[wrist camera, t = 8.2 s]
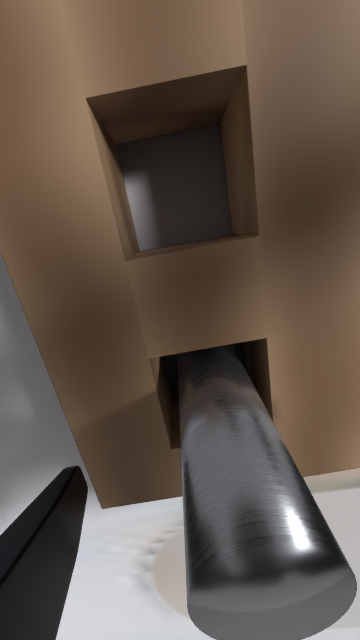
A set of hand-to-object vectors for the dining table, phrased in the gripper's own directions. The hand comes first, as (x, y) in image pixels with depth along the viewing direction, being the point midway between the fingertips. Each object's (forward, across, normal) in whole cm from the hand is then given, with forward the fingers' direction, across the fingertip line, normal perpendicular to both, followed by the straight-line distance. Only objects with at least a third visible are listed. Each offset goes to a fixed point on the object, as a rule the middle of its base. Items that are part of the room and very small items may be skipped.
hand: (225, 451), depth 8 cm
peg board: (+7, 0, -4) cm, 8 cm away
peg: (+7, 0, 0) cm, 7 cm away
